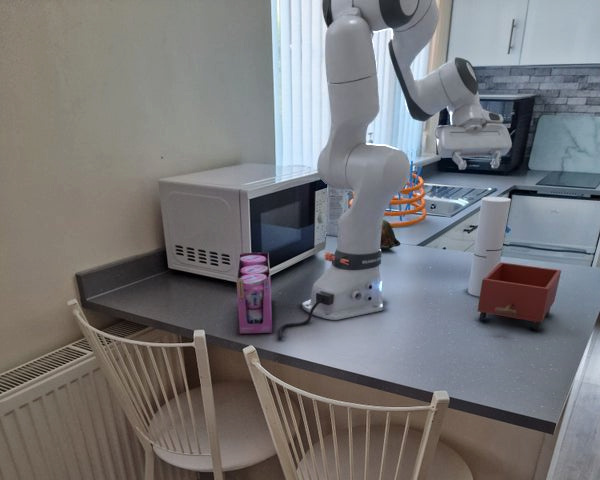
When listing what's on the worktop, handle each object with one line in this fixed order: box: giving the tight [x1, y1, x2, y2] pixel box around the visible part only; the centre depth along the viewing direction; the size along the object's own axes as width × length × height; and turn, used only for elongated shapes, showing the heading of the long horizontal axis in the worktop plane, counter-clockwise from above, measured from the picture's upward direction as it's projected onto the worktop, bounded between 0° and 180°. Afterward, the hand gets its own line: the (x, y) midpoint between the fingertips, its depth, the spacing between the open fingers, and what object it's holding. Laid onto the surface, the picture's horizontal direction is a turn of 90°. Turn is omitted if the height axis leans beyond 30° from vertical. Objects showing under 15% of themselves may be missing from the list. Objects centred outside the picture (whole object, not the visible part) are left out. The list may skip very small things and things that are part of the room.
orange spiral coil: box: [348, 160, 428, 228], centre depth 232 cm, size 34×35×24 cm
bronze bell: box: [380, 218, 402, 251], centre depth 190 cm, size 17×11×18 cm
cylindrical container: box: [467, 196, 512, 297], centre depth 145 cm, size 7×7×25 cm
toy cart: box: [477, 261, 562, 332], centre depth 129 cm, size 22×15×11 cm, turn 148°
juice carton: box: [325, 185, 350, 237], centre depth 209 cm, size 9×10×27 cm
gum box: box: [236, 251, 273, 334], centre depth 133 cm, size 24×8×14 cm, turn 3°
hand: (479, 167), depth 145 cm, fingers open, 8 cm apart
